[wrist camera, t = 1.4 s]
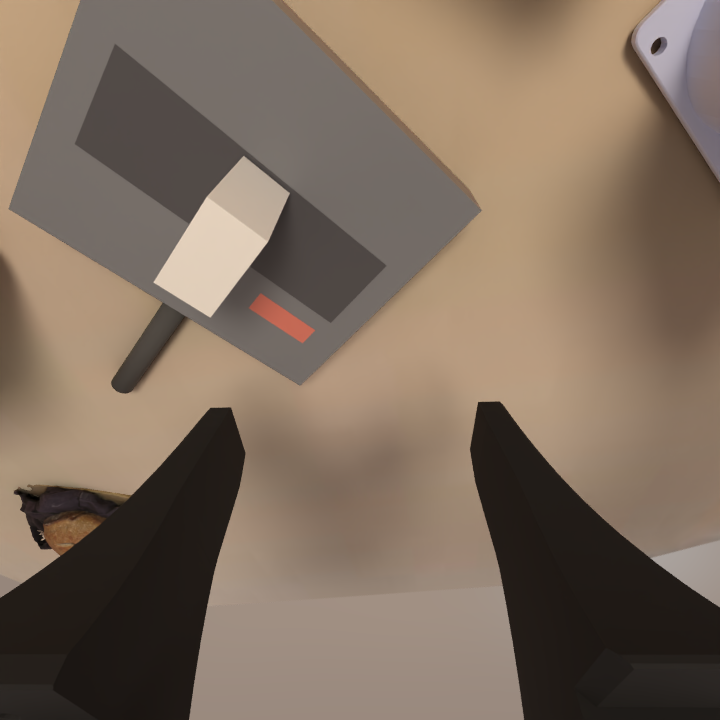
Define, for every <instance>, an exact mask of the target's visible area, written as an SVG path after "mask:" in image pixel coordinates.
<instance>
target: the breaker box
mask: <svg viewBox="0 0 720 720" xmlns="http://www.w3.org/2000/svg"><path fill="white" fill-rule="evenodd" d="M243 156H245V157H246V158H247V159H248V160H249V161H251V162H252V163H253V164H254V165H256V166H257V167H258V168H259V169H261V170H262V171H263V172H264V173H265V174H267V175H268V176H269V177H270V178H272V179H273V180H274V181H275V182H277V183H278V184H279V185H280V186H282V187H283V188H284V189H285V190H286V191H288V192H289V193H290V194H289V196H288V198H287V201H286V203H285V205H284V207H283V210H282V212H281V214H280V216H279V219H278V221H277V223H276V225H275V227H274V230H273V232H272V234H271V236H270V239H269V241H268V243H267V244H266V245H265V247H264V248H263V249H262V250H261V252H260V253H259V254H258V256H257V257H256V258H255V260H254V261H253V262H252V264H251V265H250V266H249V268H248V269H247V270H246V272H245V273H244V274H243V276H242V277H241V278H240V279H239V281H238V282H237V283H236V285H235V286H234V287H233V289H232V290H231V291H230V293H229V294H228V295H227V297H226V298H225V299H224V301H223V302H222V303H221V304H220V306H219V307H218V308H217V310H216V311H215V312H214V314H213V315H212V316H211V318H210V317H208V316H207V315H205V314H204V313H202V312H200V311H199V310H197V309H195V308H194V307H192V306H191V305H189V304H187V303H186V302H184V301H183V300H181V299H179V298H178V297H176V296H174V295H173V294H171V293H170V292H168V291H166V290H165V289H163V288H162V287H160V286H158V285H157V284H155V283H153V282H154V281H155V279H156V278H157V276H158V274H159V273H160V271H161V270H162V268H163V266H164V265H165V263H166V261H167V260H168V258H169V257H170V255H171V253H172V252H173V250H174V249H175V247H176V245H177V244H178V242H179V241H180V239H181V237H182V236H183V234H184V233H185V231H186V229H187V228H188V226H189V225H190V223H191V221H192V220H193V218H194V217H195V215H196V213H197V212H198V210H199V208H200V207H201V205H202V204H203V202H204V200H205V199H206V197H207V196H208V195H209V194H210V193H211V192H212V190H213V189H214V188H215V187H216V186H217V185H218V184H219V183H220V182H221V180H222V179H223V178H224V177H225V176H226V175H227V174H228V173H229V172H230V170H231V169H232V168H233V167H234V166H235V165H236V164H237V163H238V162H239V160H240V159H241V158H242V157H243ZM9 209H10V210H11V211H13V212H14V213H16V214H18V215H19V216H21V217H23V218H24V219H26V220H28V221H29V222H31V223H33V224H34V225H36V226H38V227H39V228H41V229H43V230H44V231H46V232H47V233H49V234H51V235H52V236H54V237H56V238H57V239H59V240H61V241H62V242H64V243H66V244H67V245H69V246H71V247H72V248H74V249H76V250H77V251H79V252H80V253H82V254H84V255H85V256H87V257H89V258H90V259H92V260H94V261H95V262H97V263H99V264H100V265H102V266H104V267H105V268H107V269H109V270H110V271H112V272H113V273H115V274H117V275H118V276H120V277H122V278H123V279H125V280H127V281H128V282H130V283H132V284H133V285H135V286H137V287H138V288H140V289H142V290H143V291H145V292H146V293H148V294H150V295H151V296H153V297H155V298H156V299H158V300H160V301H161V302H163V303H165V304H166V305H168V306H170V307H171V308H173V309H175V310H176V311H178V312H179V313H181V314H183V315H184V316H186V317H188V318H189V319H191V320H193V321H194V322H196V323H198V324H199V325H201V326H203V327H204V328H206V329H208V330H209V331H211V332H212V333H214V334H216V335H217V336H219V337H221V338H222V339H224V340H226V341H227V342H229V343H231V344H232V345H234V346H236V347H237V348H239V349H241V350H242V351H244V352H245V353H247V354H249V355H250V356H252V357H254V358H255V359H257V360H259V361H260V362H262V363H264V364H265V365H267V366H269V367H270V368H272V369H274V370H275V371H277V372H278V373H280V374H282V375H283V376H285V377H287V378H288V379H290V380H292V381H293V382H295V383H297V384H298V385H301V384H302V383H303V382H304V381H305V380H307V379H308V378H309V377H310V376H311V375H312V374H313V373H314V372H315V371H316V370H317V369H318V368H319V367H320V366H321V365H322V364H323V363H324V362H325V361H326V360H327V359H328V358H329V357H330V356H331V355H332V354H333V353H334V352H336V351H337V350H338V349H339V348H340V347H341V346H342V345H343V344H344V343H345V342H346V341H347V340H348V339H349V338H350V337H351V336H352V335H353V334H354V333H355V332H356V331H357V330H358V329H359V328H360V327H361V326H362V325H364V324H365V323H366V322H367V321H368V320H369V319H370V318H371V317H372V316H373V315H374V314H375V313H376V312H377V311H378V310H379V309H380V308H381V307H382V306H383V305H384V304H385V303H386V302H387V301H388V300H389V299H390V298H392V297H393V296H394V295H395V294H396V293H397V292H398V291H399V290H400V289H401V288H402V287H403V286H404V285H405V284H406V283H407V282H408V281H409V280H410V279H411V278H412V277H413V276H414V275H415V274H416V273H417V272H418V271H419V270H421V269H422V268H423V267H424V266H425V265H426V264H427V263H428V262H429V261H430V260H431V259H432V258H433V257H434V256H435V255H436V254H437V253H438V252H439V251H440V250H441V249H442V248H443V247H444V246H445V245H446V244H447V243H449V242H450V241H451V240H452V239H453V238H454V237H455V236H456V235H457V234H458V233H459V232H460V231H461V230H462V229H463V228H464V227H465V226H466V225H467V224H468V223H469V222H470V221H471V220H472V219H473V218H474V217H475V216H477V215H478V214H479V213H480V212H481V211H482V210H481V209H480V207H479V205H478V203H477V202H476V200H475V198H474V197H473V195H472V193H471V191H470V190H469V189H468V188H467V187H466V186H465V185H464V184H463V183H462V182H461V181H460V180H459V179H458V178H457V177H456V176H455V175H454V174H453V173H452V172H451V171H450V170H449V169H448V168H447V167H446V166H445V165H444V164H443V163H442V162H441V161H440V160H439V158H438V157H437V156H436V155H435V154H434V153H433V152H432V151H431V150H430V149H429V148H428V147H427V146H426V145H425V144H424V143H423V142H422V141H421V140H420V139H419V138H418V137H417V136H416V135H415V134H414V133H413V132H412V131H411V130H410V129H409V128H408V127H407V126H406V125H405V124H404V123H403V122H402V121H401V120H400V119H399V118H398V117H397V116H396V115H395V114H394V113H393V112H392V111H391V110H390V109H389V108H388V107H387V106H386V105H385V104H384V103H383V102H382V101H381V100H380V99H379V98H378V97H377V96H376V95H375V94H374V93H373V92H372V91H371V90H370V89H369V87H368V86H367V85H366V84H365V83H364V82H363V81H362V80H361V79H360V78H359V77H358V76H357V75H356V74H355V73H354V72H353V71H352V70H351V69H350V68H349V67H348V66H347V65H346V64H345V63H344V62H343V61H342V60H341V59H340V58H339V57H338V56H337V55H336V54H335V53H334V52H333V51H332V50H331V49H330V48H329V47H328V46H327V45H326V44H325V43H324V42H323V41H322V40H321V39H320V38H319V37H318V36H317V35H316V34H315V33H314V32H313V31H312V30H311V29H310V28H309V27H308V26H307V25H306V24H305V23H304V22H303V21H302V20H301V19H300V17H299V16H298V15H297V14H296V13H295V12H294V11H293V10H292V9H291V8H290V7H289V6H288V5H287V4H286V3H285V2H284V1H283V0H80V3H79V6H78V9H77V12H76V15H75V18H74V21H73V24H72V27H71V29H70V32H69V35H68V38H67V41H66V44H65V47H64V50H63V53H62V56H61V58H60V61H59V64H58V67H57V70H56V73H55V76H54V79H53V82H52V85H51V87H50V90H49V93H48V96H47V99H46V102H45V105H44V108H43V111H42V113H41V116H40V119H39V122H38V125H37V128H36V131H35V134H34V137H33V140H32V142H31V145H30V148H29V151H28V154H27V157H26V160H25V163H24V166H23V169H22V171H21V174H20V177H19V180H18V183H17V186H16V189H15V192H14V195H13V198H12V200H11V203H10V206H9Z"/></svg>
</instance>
